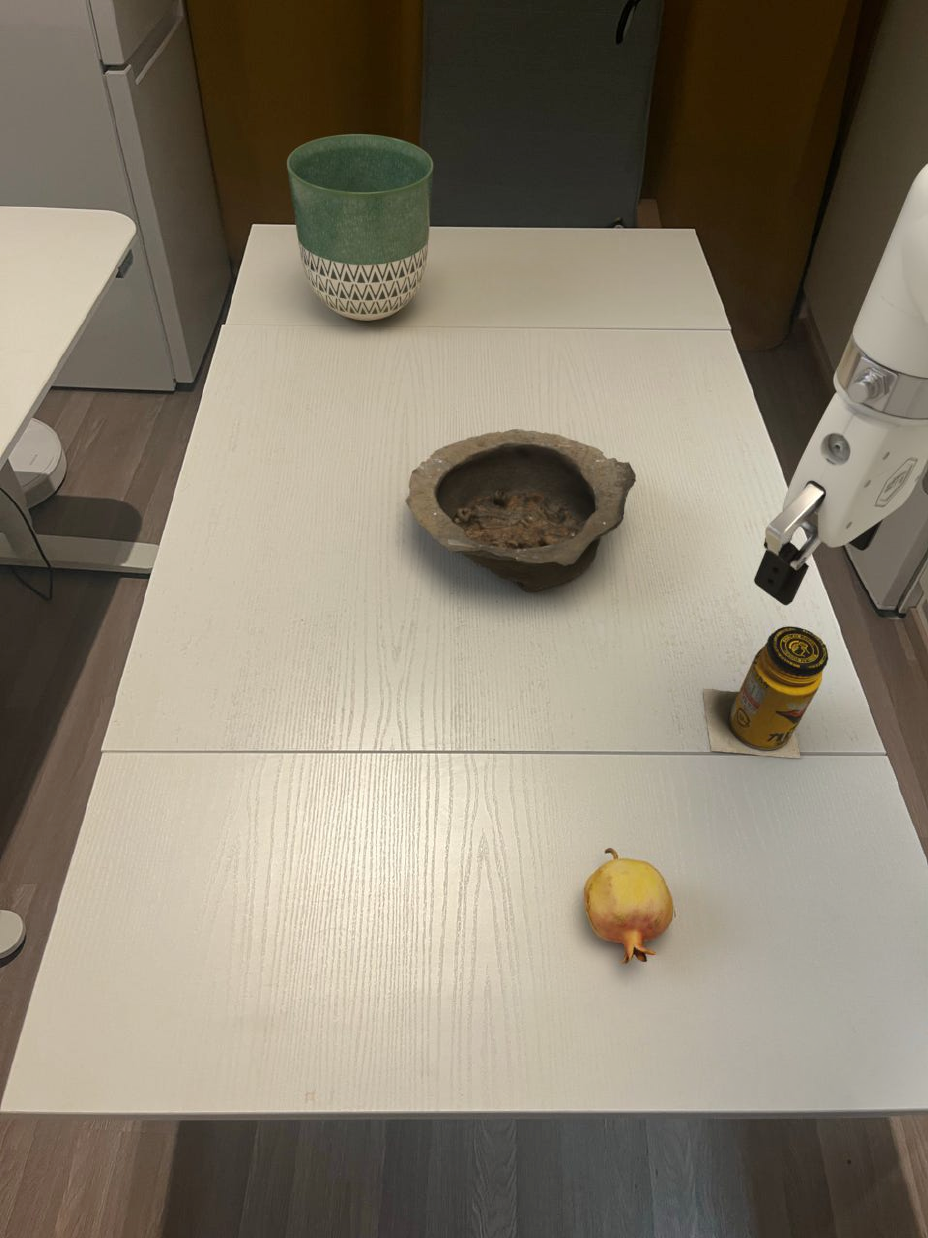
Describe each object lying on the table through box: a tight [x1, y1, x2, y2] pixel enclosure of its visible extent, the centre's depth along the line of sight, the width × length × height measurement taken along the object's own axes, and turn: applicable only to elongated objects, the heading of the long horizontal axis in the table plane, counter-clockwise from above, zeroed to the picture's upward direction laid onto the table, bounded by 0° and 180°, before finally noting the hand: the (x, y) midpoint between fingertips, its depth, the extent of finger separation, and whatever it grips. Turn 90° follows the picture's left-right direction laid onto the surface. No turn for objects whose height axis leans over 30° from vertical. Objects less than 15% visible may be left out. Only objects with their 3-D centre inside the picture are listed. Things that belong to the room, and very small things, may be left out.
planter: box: [286, 133, 434, 322], centre depth 127 cm, size 20×20×21 cm
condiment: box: [702, 625, 829, 759], centre depth 82 cm, size 7×8×12 cm
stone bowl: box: [405, 428, 637, 592], centre depth 100 cm, size 25×25×9 cm
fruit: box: [583, 847, 674, 965], centre depth 70 cm, size 7×7×10 cm
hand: (811, 565), depth 69 cm, fingers open, 9 cm apart
